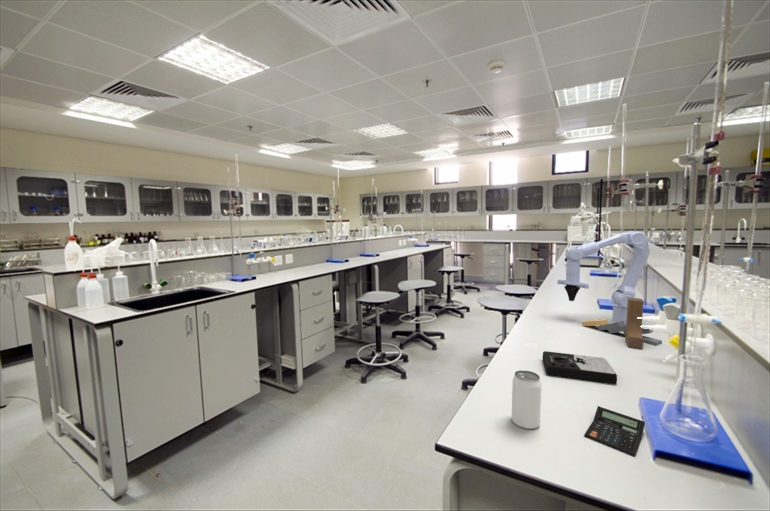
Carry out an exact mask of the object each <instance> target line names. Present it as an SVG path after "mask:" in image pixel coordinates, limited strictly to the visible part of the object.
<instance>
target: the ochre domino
mask: <svg viewBox="0 0 770 511" xmlns="http://www.w3.org/2000/svg"><path fill="white" fill-rule="evenodd" d="M608 323H609V321H608V319H607V318H604V319H588V320H584V321H581V326H582V327H593V326H595V327H598V326H600V325H605V324H608Z"/></svg>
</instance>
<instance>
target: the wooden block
mask: <svg viewBox="0 0 770 511" xmlns="http://www.w3.org/2000/svg"><path fill="white" fill-rule="evenodd" d="M643 313H644V300H643V299H642V298H640V297H638V298H637V297H634V298H628V303H627V319H626V335H624V337H625V338H624V339H625V343H626V344H627V347H628V348H630V349H631V348H633V349H638V350H643V346H644V343H643V336H644V335H643V334H642V328H643V327H642V328H641V327H640V326H641V325H642V326H643V317H644V316H643ZM637 317H642V319H637ZM642 335H643V336H642Z"/></svg>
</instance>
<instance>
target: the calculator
mask: <svg viewBox="0 0 770 511" xmlns="http://www.w3.org/2000/svg"><path fill="white" fill-rule="evenodd" d="M594 414H595V415H594V416H593V420H592V422H591V423H590V425H589V426H588V428H587V430H586V431H585V433H584V436H583V437H584V438H587V439H589V440H593V441H594V442H597V443H599V444H602V445H603V446H606V447H608V448H612V449H614V450H617V451H618V452H621V453H624V454H627V455H629V456H631V457H634V458H635V457H636V455H637V453H638V450H639V447H640V444H641V442H642V439H643V435H644V431H645V430H644V429H645V425H646V424H645V423H646V422H645V421H644V420H642V419H641V420H640V419H637V418H635V417H632V416H628V415H625V414H623V413H620V412H616V411H614V410H610V409H608V408H605V407H602V406H599V405H597V408H596V411H595V413H594Z"/></svg>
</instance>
